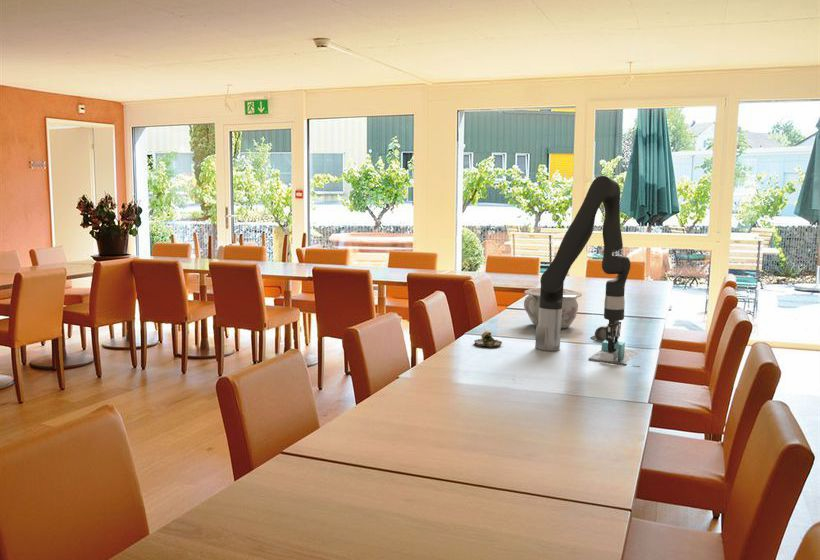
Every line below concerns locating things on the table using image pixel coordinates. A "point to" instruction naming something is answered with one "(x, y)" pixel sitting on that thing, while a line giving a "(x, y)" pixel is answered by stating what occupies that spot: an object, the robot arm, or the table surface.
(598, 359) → the base
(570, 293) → the chamber pot
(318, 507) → the table surface
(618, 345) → the block
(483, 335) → the mottled brown knobbed disc
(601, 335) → the ceramic mug
